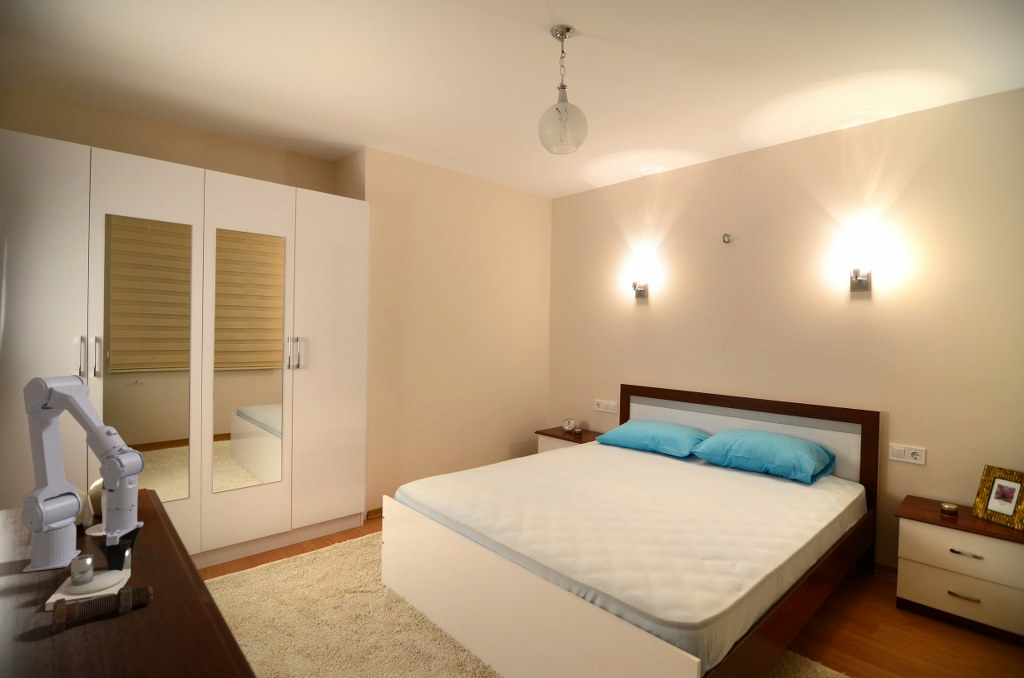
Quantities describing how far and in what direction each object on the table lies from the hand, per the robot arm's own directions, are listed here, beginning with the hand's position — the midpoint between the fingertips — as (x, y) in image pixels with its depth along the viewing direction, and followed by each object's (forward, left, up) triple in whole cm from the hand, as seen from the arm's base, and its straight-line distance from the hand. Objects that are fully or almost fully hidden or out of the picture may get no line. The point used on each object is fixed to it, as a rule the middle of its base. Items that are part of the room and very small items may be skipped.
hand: (121, 565), depth 119 cm
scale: (+9, -3, -2) cm, 10 cm away
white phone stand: (-33, -10, -2) cm, 35 cm away
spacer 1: (+9, -5, +1) cm, 10 cm away
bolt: (+21, +3, -2) cm, 22 cm away
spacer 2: (0, 0, -2) cm, 2 cm away
